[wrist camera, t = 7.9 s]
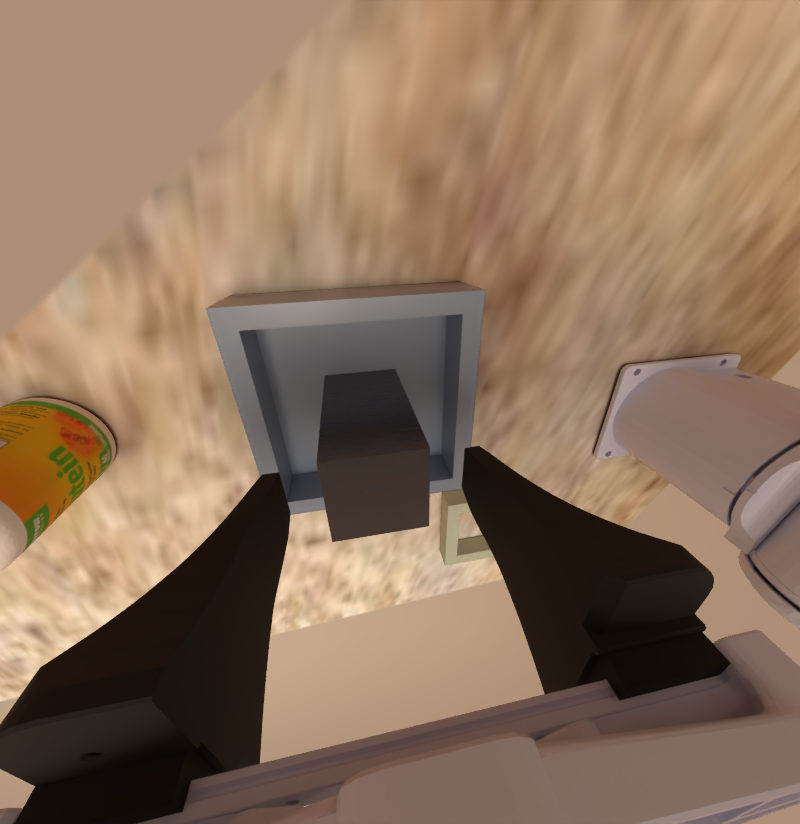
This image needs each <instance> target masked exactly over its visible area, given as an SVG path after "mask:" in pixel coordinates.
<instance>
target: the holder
mask: <svg viewBox="0 0 800 824" xmlns="http://www.w3.org/2000/svg"><path fill="white" fill-rule="evenodd" d="M467 512H471V511H470V509H469V506H468V503H467V501H466V498H465V495H464V492H463V489H461V490H454V491H447V492H442V515H441V540H440V552H441V555H442V558H443V561H444V564H445V565H451V564H456V563H462V562H467V561H472V560H478V559H483V558H489V557H494V556H493V554H492V552H491V550H490V548H489V546H488V544H487V542H486V540H485V538H484V536H479V537H473V538H467V539H461V540H458V535H459V522H460V514H461V513H467Z"/></svg>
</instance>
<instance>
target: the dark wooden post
mask: <svg viewBox="0 0 800 824" xmlns="http://www.w3.org/2000/svg"><path fill="white" fill-rule="evenodd" d="M316 464H317V469H318V474H319V478H320V483H321V488H322V493H323V498H324V503H325V508H326V513H327V517H328V522H329V527H330V532H331V537H332V542H336V541H342V540H348V539H354V538H360V537H366V536H372V535H378V534H384V533H390V532H396V531H402V530H408V529H414V528H420V527H426V526H429V494H430V447H429V444H428V442H427V440H426V438H425V435H424V433H423V431H422V429H421V426H420V424H419V422H418V419H417V417H416V415H415V413H414V410H413V408H412V406H411V404H410V401H409V399H408V397H407V395H406V392H405V390H404V388H403V386H402V383H401V381H400V379H399V377H398V374H397V372H396V370H395V369H388V370H377V371H367V372H356V373H346V374H335V375H325V377H324V388H323V399H322V409H321V420H320V430H319V441H318V451H317V462H316Z"/></svg>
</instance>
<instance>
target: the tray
mask: <svg viewBox="0 0 800 824" xmlns="http://www.w3.org/2000/svg"><path fill="white" fill-rule="evenodd" d="M484 298H485V290H483V289H481V288H478V287H475V286H472V285H469V284H466V283H463V282H460V281H456V282H439V283H423V284H406V285H390V286H373V287H357V288H341V289H324V290H308V291H291V292H275V293H258V294H242V295H230V296H228V297H227V298H225V299H223V300H221V301H219V302H217V303H215V304H213V305H211V306H210V307H208V308H206V310H207V313H208V316H209V319H210V322H211V326H212V329H213V332H214V335H215V338H216V341H217V344H218V347H219V350H220V353H221V356H222V360H223V363H224V366H225V369H226V372H227V375H228V378H229V381H230V384H231V387H232V390H233V394H234V397H235V400H236V403H237V406H238V409H239V412H240V415H241V418H242V421H243V424H244V428H245V431H246V434H247V437H248V440H249V443H250V446H251V449H252V452H253V455H254V458H255V462H256V465H257V468H258V471H259V474H260V476H261V475H262V474H270V473H277V472H279V474H280V477H281V481H282V484H283V488H284V491H285V495H286V498H287V502H288V506H289V509H290V515H293V514H300V513H306V512H313V511H320V510H326V508H325V503H324V498H323V493H322V488H321V483H320V478H319V474H318V469H317V464H316V462H317V451H318V441H319V430H320V420H321V409H322V399H323V388H324V377H325V375H335V374H346V373H356V372H367V371H377V370H388V369H395V370H396V372H397V374H398V377H399V379H400V381H401V383H402V386H403V388H404V390H405V392H406V395H407V397H408V399H409V401H410V404H411V406H412V408H413V410H414V413H415V415H416V417H417V419H418V422H419V424H420V426H421V429H422V431H423V433H424V435H425V438H426V440H427V442H428V444H429V447H430V494H432V493H438V492H445V491H451V490H458V489H462V476H463V463H464V450H465V448H468V447H471V441H472V430H473V419H474V408H475V397H476V386H477V375H478V364H479V353H480V342H481V331H482V320H483V309H484Z"/></svg>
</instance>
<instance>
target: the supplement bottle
mask: <svg viewBox="0 0 800 824" xmlns="http://www.w3.org/2000/svg"><path fill="white" fill-rule="evenodd" d="M115 454H116V444H115V441H114V438H113V436H112V434H111V432H110V431H109V429H108V428H107V427H106V426H105V424H104V423H103V422H102V421H100V420H99V419H98V418H97V417H96V416H94V415H93V414H91V413H90V412H88V411H87V410H85V409H83V408H81V407H79V406H77V405H74V404H72V403H69V402H66V401H61V400H57V399H50V398H28V399H22V400H18V401H15V402H12V403H10V404H7V405H5V406H3V407H1V408H0V571H2V570H3V569H5V568H6V567H7V566H9V565H10V564H11V563H12V562H13V561H14V560H15V559H16V558H17V557H19V556H20V555H21V554H22V553H23V552H24V551H25V550H26V549H27V548H28V547H29V546H30V545H31V544H32V543H33V542H34V541H35V540H36V539H37V538H38V537H39V536H40V535H41V534H42V533H43V532H44V531H45V530H46V529H47V528H48V527H49V526H50V525H51V524H52V523H53V522H54V521H55V520H56V519H57V518H58V517H59V516H60V515H61V514H62V513H63V512H64V511H65V510H66V509H67V508H68V507H69V506H70V505H71V504H72V503H73V502H74V501H75V500H76V499H77V498H78V497H79V496H80V495H81V494H82V493H83V492H84V491H85V490H86V489H87V488H88V487H89V486H90V485H91V484H92V483H93V482H94V481H95V480H96V479H97V478H98V477H100V476H101V475H102V474H103V473H104V471H105V470H106V469H107V468H108V467H109V466H110V465H111V463H112V462H113V460H114V457H115Z"/></svg>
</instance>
